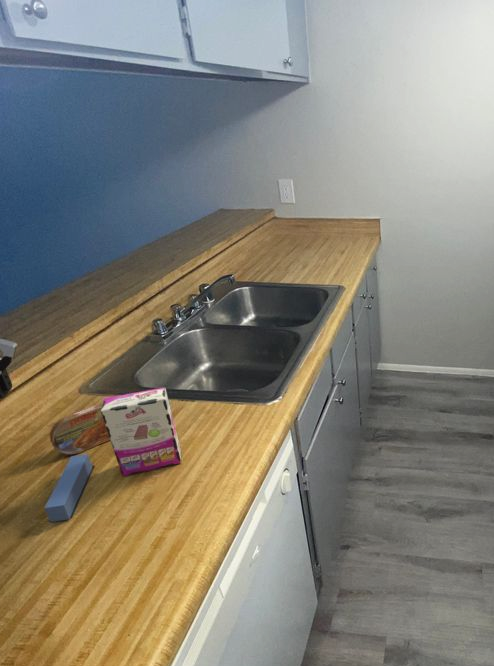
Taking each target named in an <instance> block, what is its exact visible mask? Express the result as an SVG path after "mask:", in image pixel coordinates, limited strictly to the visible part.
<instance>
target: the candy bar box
mask: <svg viewBox="0 0 494 666" xmlns="http://www.w3.org/2000/svg"><path fill="white" fill-rule="evenodd" d="M102 403H103V405H102V409H101V414H102V416H103V420H104V423H105V425H106V428H107V431H108V434H109V437H110V440H109V441H110V444H111V447H112V449H113V452H114V455H115V458H116V461H117V464H118V467H119V471H120V474H121V477H128V476H132V475H136V474H140V473H141V474H142V473H145V472H149V471H153V470H158V469H162V468H165V467H170V466H174V465H178V464H181V463H182V449H181V445H180V441H179V438H178V432H177V428H176V424H175V421H174V417H173V413H172V409H171V404H170V401H169V396H168V393H167V389H166V387H165V386H164V387H159V388H154V389H147V390H143V391H138V392H132V393H126V394H119V395H115V396H109V397H104V398H103V401H102Z"/></svg>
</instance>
